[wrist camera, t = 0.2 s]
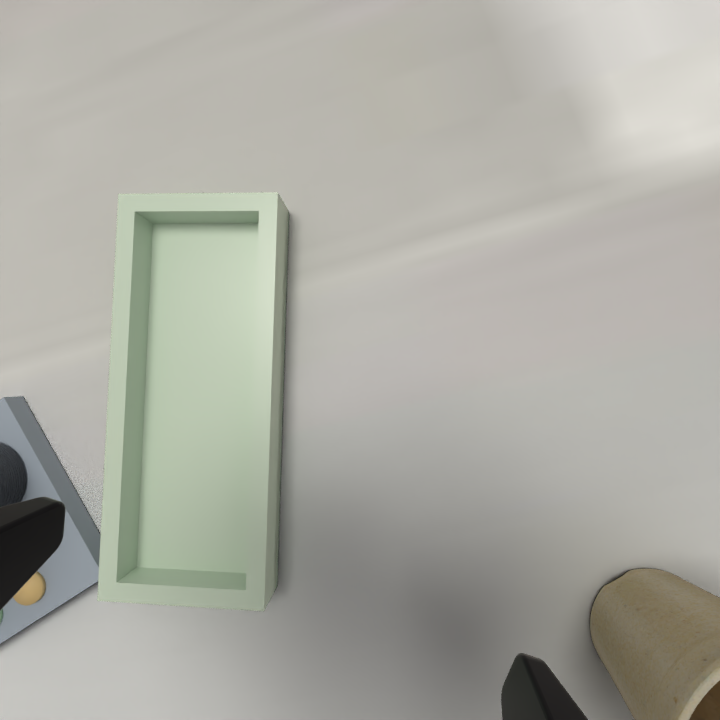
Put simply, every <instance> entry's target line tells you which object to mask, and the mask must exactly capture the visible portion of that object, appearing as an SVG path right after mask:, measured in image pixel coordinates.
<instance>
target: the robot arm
mask: <svg viewBox="0 0 720 720" xmlns="http://www.w3.org/2000/svg"><path fill="white" fill-rule="evenodd" d="M65 511H66V507H65V505H64V503H63V502H61V501H58V500H55V499H52V498H49V497H38V498H34V499H30V500H26V501H22V502H18V503H14V504H10V505H6V506H2V507H0V610H1V609H2V608H3V607H4V606H5V605H6V604H7V603H8V602H9V601H10V600H11V599H12V597H13V596H14V595H15V594H16V593H17V592H18V591H19V590H20V589H21V588H22V587H23V586H24V585H25V584H26V582H27V581H28V580H29V579H30V578H31V577H32V576H33V575H34V574H35V573H36V572H37V571H38V570H39V568H40V567H41V566H42V565H43V564H44V563H45V562H46V561H47V560H48V559H49V558H50V557H51V556H52V554H53V553H54V552H55V551H56V550H57V549H58V547H59V546H60V544H61V542H62V539H63V535H64V524H65ZM501 705H502V718H503V720H588V719H587V718H586V716H585V715H584V714H583V712H582V711H581V710H580V708H579V707H578V706H577V704H576V703H575V702H574V700H573V699H572V698H571V696H570V695H569V694H568V692H567V691H566V690H565V688H564V687H563V686H562V684H561V683H560V682H559V680H558V679H557V678H556V676H555V675H554V674H553V672H552V671H551V670H550V668H549V667H548V666H547V665H546V663H545V662H544V661H543V660H541V659H539V658H536V657H533V656H530V655H527V654H524V653H520V654H518V655H517V656H516V658H515V660H514V662H513V664H512V666H511V669H510V671H509V673H508V675H507V678H506V680H505V682H504V685H503V688H502V694H501Z"/></svg>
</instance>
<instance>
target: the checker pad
mask: <svg viewBox="0 0 720 720" xmlns="http://www.w3.org/2000/svg"><path fill="white" fill-rule="evenodd" d="M0 443H2V444H4V445H6V446H8V447H9V448H11V449H12V450H13V451H14V452H15V453H16V454H17V455H18V456H19V458H20V459H21V461H22V463H23V465H24V468H25V472H26V478H27V483H26V490H25V494H24V496H23V499H22V500H21V502H22V501H26V500H30V499H34V498H38V497H49V498H52V499H55V500H58V501H61V502H63V503H64V505H65V507H66V511H65V524H64V535H63V539H62V542H61V544H60V546H59V547H58V549H57V550H56V551H55V552H54V553H53V554H52V556H51V557H50V558H49V559H48V560H47V561H46V562H45V563H44V564H43V565H42V566H41V567H40V568H39V570H38V571H37V572H36V573H35V574H34V575H33V576H32V577H31V578H30V579H29V580H28V581H27V582H26V584H25V585H24V586H23V587H22V588H21V589H20V590H19V591H18V592H17V593H16V594H15V595H14V596H13V597H12V599H11V600H10V601H9V602H8V603H7V604H6V605H5V606H4V607H3V608H2V609H1V610H0V644H1V643H2V642H4V641H5V640H7V639H8V638H10V637H12V636H13V635H15V634H16V633H18V632H19V631H21V630H23V629H24V628H26V627H27V626H29V625H30V624H32V623H33V622H35V621H37V620H38V619H40V618H41V617H43V616H44V615H46V614H47V613H49V612H51V611H52V610H54V609H55V608H57V607H58V606H60V605H62V604H63V603H65V602H66V601H68V600H69V599H71V598H72V597H74V596H76V595H77V594H79V593H80V592H82V591H83V590H85V589H86V588H88V587H90V586H91V585H93V584H94V583H96V582H97V581H98V576H99V557H100V538H101V535H100V533H99V531H98V530H97V528H96V526H95V524H94V522H93V521H92V519H91V517H90V515H89V513H88V512H87V510H86V508H85V506H84V505H83V503H82V501H81V499H80V497H79V496H78V494H77V492H76V490H75V489H74V487H73V485H72V483H71V481H70V480H69V478H68V476H67V474H66V473H65V471H64V469H63V467H62V465H61V464H60V462H59V460H58V458H57V456H56V455H55V453H54V451H53V449H52V448H51V446H50V444H49V442H48V440H47V439H46V437H45V435H44V433H43V432H42V430H41V428H40V426H39V424H38V423H37V421H36V419H35V417H34V416H33V414H32V412H31V410H30V408H29V407H28V405H27V403H26V401H25V399H24V398H23V396H21V397H4V398H2V399H1V400H0Z"/></svg>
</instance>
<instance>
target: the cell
mask: <svg viewBox="0 0 720 720" xmlns="http://www.w3.org/2000/svg"><path fill="white" fill-rule="evenodd" d="M26 483H27V478H26V472H25V468H24V465H23V463H22V461H21V459H20V458H19V456H18V455H17V454H16V453H15V452H14V451H13V450H12V449H11V448H9V447H8V446H6V445H4V444H2V443H0V507H2V506H6V505H10V504H14V503H18V502H21V500H22V499H23V496H24V494H25V490H26Z"/></svg>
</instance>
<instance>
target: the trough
mask: <svg viewBox="0 0 720 720" xmlns="http://www.w3.org/2000/svg"><path fill="white" fill-rule="evenodd" d="M288 233H289V211H288V209H287V208H286V206H285V204H284V202H283V201H282V199H281V197H280V195H279V194H278V192H277V193H166V194H118V208H117V228H116V247H115V267H114V286H113V305H112V325H111V344H110V363H109V383H108V402H107V422H106V441H105V460H104V480H103V499H102V518H101V538H100V557H99V576H98V596H97V601H107V602H123V603H139V604H155V605H170V606H186V607H202V608H218V609H234V610H250V611H265V609H266V607H267V605H268V603H269V601H270V599H271V597H272V595H273V593H274V591H275V589H276V588H277V584H278V552H279V521H280V489H281V457H282V425H283V393H284V361H285V329H286V297H287V265H288Z"/></svg>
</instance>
